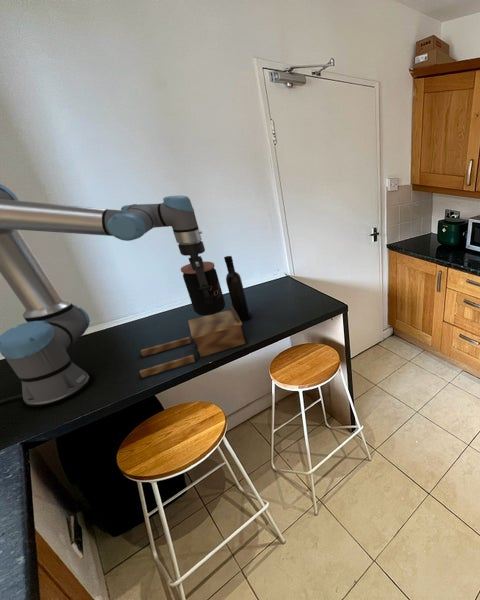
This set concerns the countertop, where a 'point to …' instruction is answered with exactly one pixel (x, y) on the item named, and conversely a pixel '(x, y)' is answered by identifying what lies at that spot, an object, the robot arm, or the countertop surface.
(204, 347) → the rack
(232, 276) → the wine bottle
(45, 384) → the robot arm
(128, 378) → the countertop surface
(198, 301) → the coffee jar
